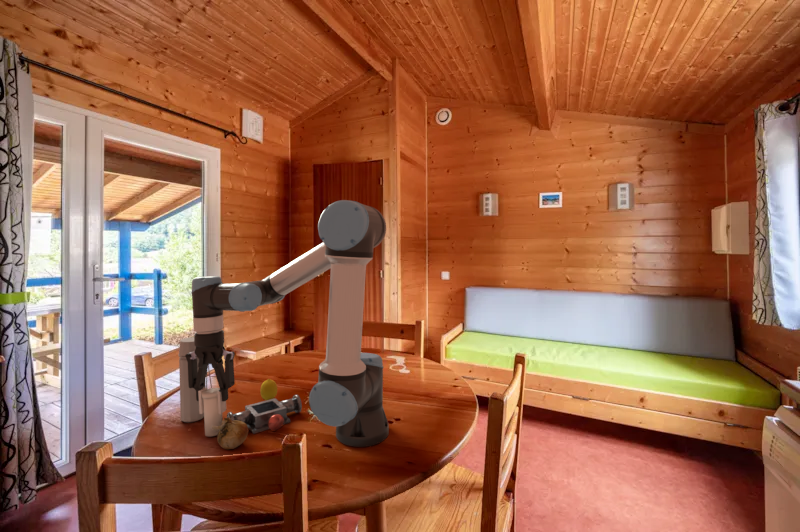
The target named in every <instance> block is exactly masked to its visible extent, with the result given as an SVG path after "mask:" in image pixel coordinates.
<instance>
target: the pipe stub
mask: <svg viewBox="0 0 800 532" xmlns="http://www.w3.org/2000/svg"><path fill="white" fill-rule="evenodd" d="M219 390H220V387H212V388H211V387H210V388H207V390H205V391H203V392H202V398H203V401H204V417H203V419H204V436H205V437H215V436H218V433H219V431H216V430H213V429H212V426H221V424H222V420H224V418H223V413H222V414H218V395H217V391H219Z"/></svg>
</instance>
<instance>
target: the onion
mask: <svg viewBox="0 0 800 532" xmlns="http://www.w3.org/2000/svg"><path fill="white" fill-rule="evenodd" d="M212 429H213V430H216V431H219V433H218V435H216V436H217V443H218V446H220V447H221V448H222V449H224V450H233V449H236V448H238V447H239V446H241V445H243V443H244V441H246V440H247V437H248V434H249V428H248V426H247V425H246V424H245V423H244V422H242V421H238V420H234V421H232V420H230V418H227V417H224V418H223V420H222V424H221V426H212Z"/></svg>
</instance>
